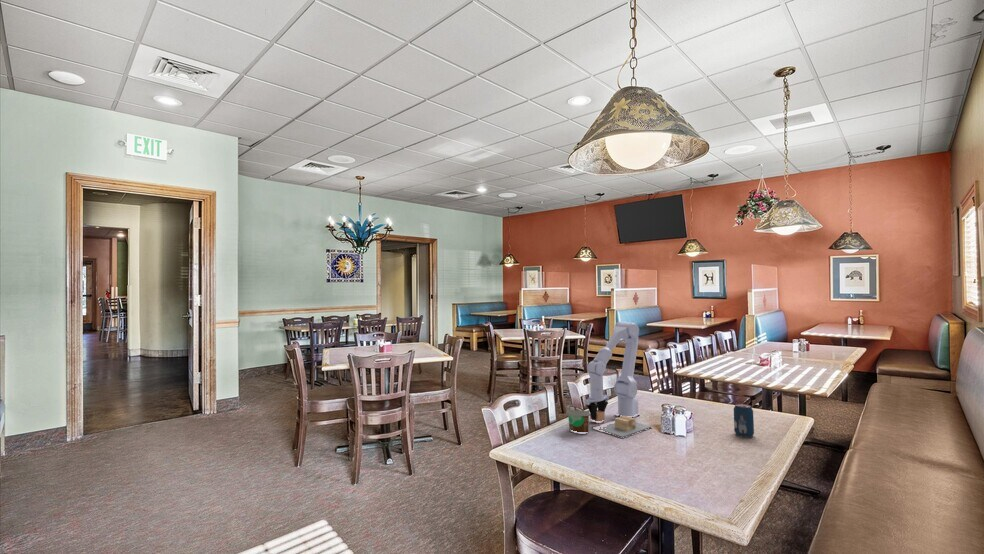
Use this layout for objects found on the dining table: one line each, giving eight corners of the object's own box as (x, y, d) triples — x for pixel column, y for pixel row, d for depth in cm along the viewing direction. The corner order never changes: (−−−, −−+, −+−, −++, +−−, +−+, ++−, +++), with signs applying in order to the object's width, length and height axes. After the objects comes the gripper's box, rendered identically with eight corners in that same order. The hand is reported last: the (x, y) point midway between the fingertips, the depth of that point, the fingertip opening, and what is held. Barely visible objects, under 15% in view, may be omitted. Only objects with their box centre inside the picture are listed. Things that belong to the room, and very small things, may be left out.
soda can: (749, 432, 182) (748, 403, 182) (757, 438, 175) (756, 407, 175) (731, 432, 182) (730, 403, 183) (739, 438, 175) (738, 407, 176)
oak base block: (623, 424, 192) (623, 415, 193) (635, 428, 188) (635, 418, 188) (615, 427, 189) (614, 418, 189) (627, 431, 184) (626, 421, 184)
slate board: (620, 419, 202) (620, 418, 202) (651, 428, 189) (651, 426, 189) (591, 429, 190) (591, 427, 190) (622, 438, 177) (622, 436, 177)
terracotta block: (596, 419, 203) (596, 409, 203) (604, 421, 200) (604, 411, 200) (590, 421, 201) (590, 411, 201) (598, 423, 197) (598, 413, 197)
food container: (561, 428, 191) (560, 405, 191) (572, 426, 194) (572, 403, 194) (578, 437, 180) (577, 412, 180) (590, 435, 183) (589, 410, 183)
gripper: (600, 384, 208) (600, 413, 208) (579, 388, 199) (579, 419, 199) (612, 386, 203) (613, 416, 202) (591, 391, 194) (592, 422, 193)
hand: (597, 418), depth 200 cm, fingers closed on terracotta block, 4 cm apart
